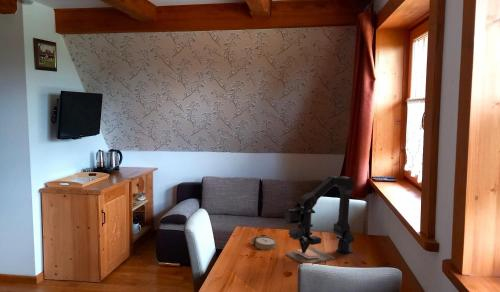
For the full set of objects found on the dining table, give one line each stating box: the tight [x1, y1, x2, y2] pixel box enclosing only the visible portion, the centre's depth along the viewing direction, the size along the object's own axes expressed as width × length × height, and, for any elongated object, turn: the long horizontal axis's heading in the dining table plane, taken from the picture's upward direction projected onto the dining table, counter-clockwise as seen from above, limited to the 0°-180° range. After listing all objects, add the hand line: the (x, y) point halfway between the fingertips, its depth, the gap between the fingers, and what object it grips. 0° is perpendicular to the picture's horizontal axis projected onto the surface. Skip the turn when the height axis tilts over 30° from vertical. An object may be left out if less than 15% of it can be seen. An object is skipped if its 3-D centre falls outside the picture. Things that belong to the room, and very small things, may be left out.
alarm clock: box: [251, 234, 279, 251], centre depth 211 cm, size 11×5×15 cm
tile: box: [295, 248, 319, 258], centre depth 194 cm, size 7×10×1 cm
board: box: [285, 246, 335, 265], centre depth 195 cm, size 18×16×1 cm
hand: (303, 252), depth 193 cm, fingers closed, pressing on tile
